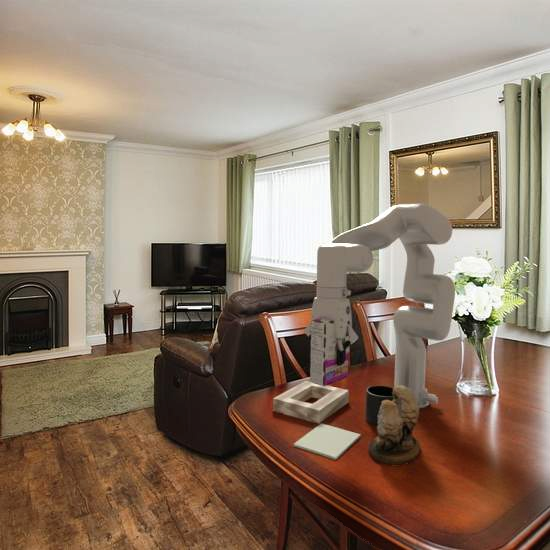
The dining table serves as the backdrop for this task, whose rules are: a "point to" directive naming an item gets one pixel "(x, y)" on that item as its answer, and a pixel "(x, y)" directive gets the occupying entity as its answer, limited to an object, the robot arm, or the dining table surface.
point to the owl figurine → (396, 429)
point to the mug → (376, 401)
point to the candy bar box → (326, 354)
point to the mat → (327, 441)
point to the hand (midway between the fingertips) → (329, 361)
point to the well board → (315, 412)
